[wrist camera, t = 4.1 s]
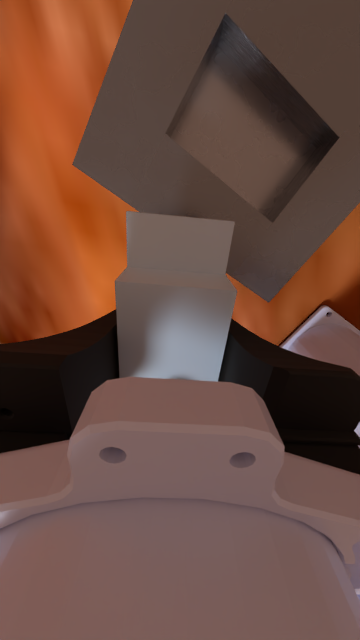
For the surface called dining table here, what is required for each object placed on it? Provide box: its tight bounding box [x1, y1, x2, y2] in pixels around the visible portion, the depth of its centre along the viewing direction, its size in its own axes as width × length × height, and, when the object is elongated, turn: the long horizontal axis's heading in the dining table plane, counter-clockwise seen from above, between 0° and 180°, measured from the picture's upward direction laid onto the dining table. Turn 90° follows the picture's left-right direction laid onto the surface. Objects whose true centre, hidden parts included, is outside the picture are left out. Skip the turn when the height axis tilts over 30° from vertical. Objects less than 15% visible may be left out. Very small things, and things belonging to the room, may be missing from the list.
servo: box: [115, 211, 237, 382], centre depth 11 cm, size 11×4×6 cm, turn 175°
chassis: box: [72, 0, 360, 302], centre depth 14 cm, size 16×14×3 cm
